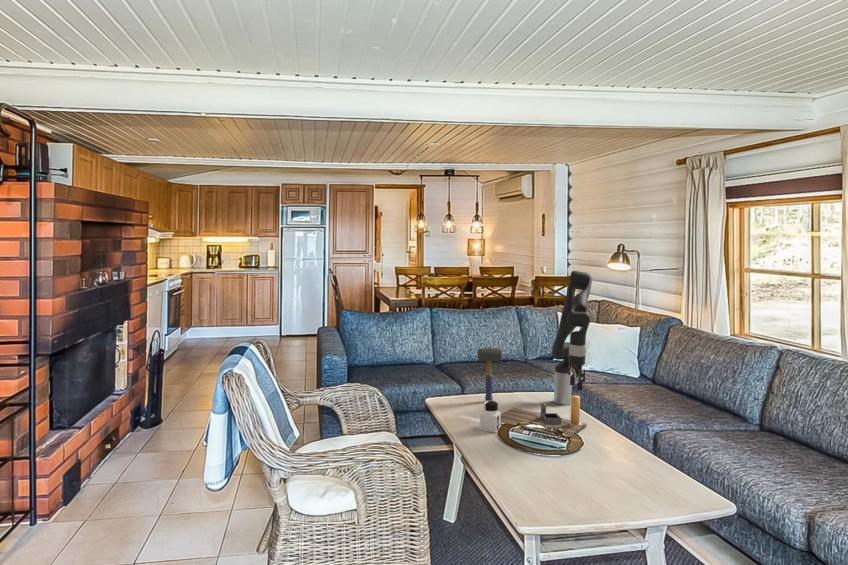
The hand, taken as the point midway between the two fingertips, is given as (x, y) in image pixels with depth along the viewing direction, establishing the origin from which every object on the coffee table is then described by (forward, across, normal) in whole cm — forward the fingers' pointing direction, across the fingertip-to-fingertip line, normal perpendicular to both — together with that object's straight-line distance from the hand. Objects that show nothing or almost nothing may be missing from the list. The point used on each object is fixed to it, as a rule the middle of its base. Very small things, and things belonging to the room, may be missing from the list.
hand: (575, 387), depth 253 cm
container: (+19, -1, -41) cm, 45 cm away
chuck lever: (+17, -2, -13) cm, 22 cm away
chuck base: (+19, -5, -16) cm, 26 cm away
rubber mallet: (+20, -43, -31) cm, 57 cm away
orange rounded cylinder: (+17, 0, 0) cm, 17 cm away
